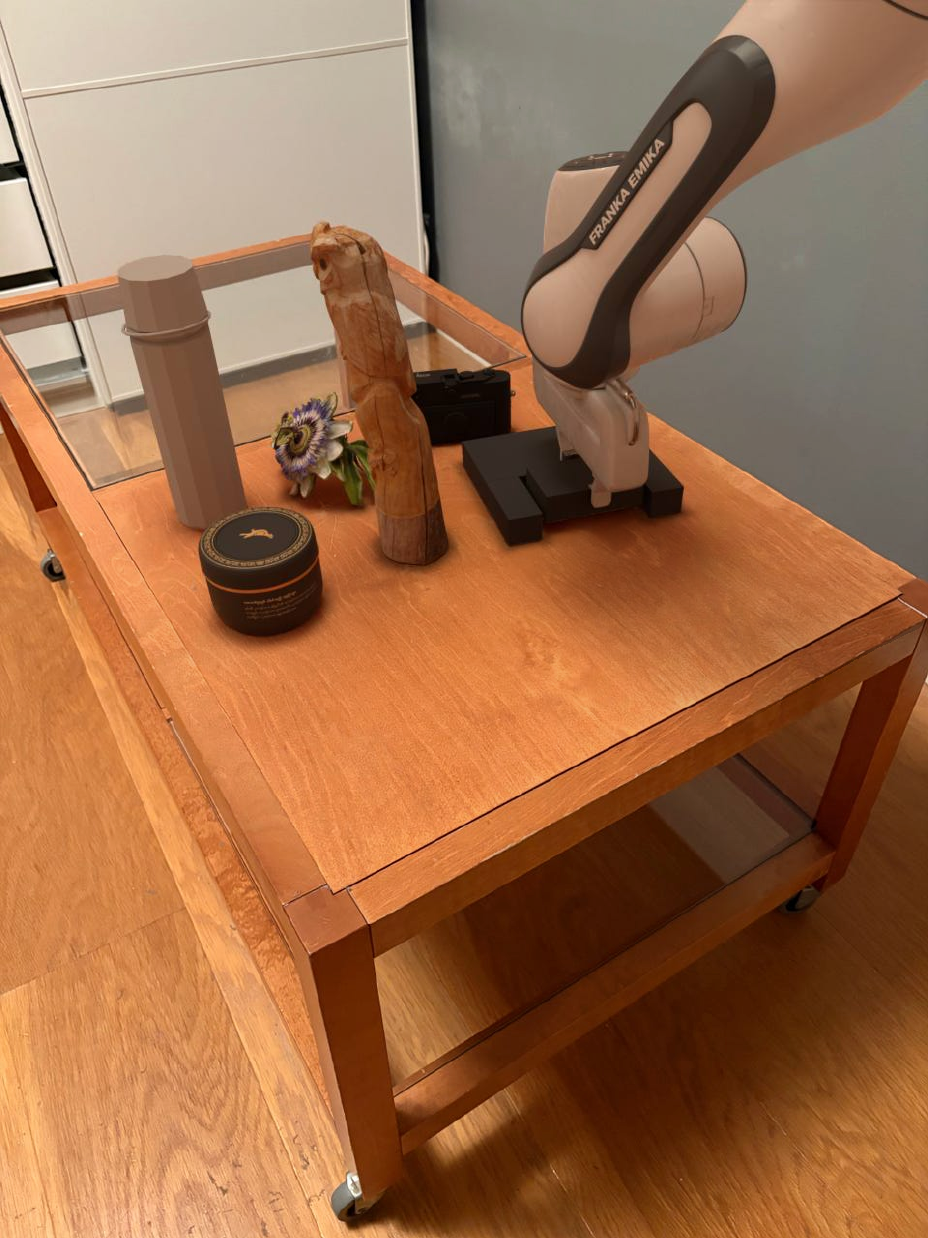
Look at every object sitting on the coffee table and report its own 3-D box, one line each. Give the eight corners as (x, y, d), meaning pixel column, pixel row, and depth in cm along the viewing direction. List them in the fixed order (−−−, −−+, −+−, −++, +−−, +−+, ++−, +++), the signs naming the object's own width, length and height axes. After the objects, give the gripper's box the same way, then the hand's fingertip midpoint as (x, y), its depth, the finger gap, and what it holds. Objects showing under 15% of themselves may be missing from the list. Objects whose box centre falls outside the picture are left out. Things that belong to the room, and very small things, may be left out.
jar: (208, 586, 87) (190, 516, 82) (315, 564, 89) (304, 494, 85) (221, 653, 80) (202, 581, 75) (337, 627, 82) (326, 555, 77)
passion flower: (306, 536, 103) (241, 441, 100) (381, 483, 107) (320, 390, 104) (342, 525, 93) (270, 419, 90) (423, 466, 97) (357, 363, 94)
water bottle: (263, 518, 96) (213, 269, 80) (188, 544, 93) (121, 290, 77) (230, 480, 102) (177, 242, 86) (159, 503, 99) (91, 260, 83)
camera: (507, 410, 112) (507, 346, 107) (519, 439, 106) (518, 373, 101) (387, 422, 111) (381, 357, 106) (392, 452, 105) (386, 385, 100)
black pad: (617, 475, 97) (619, 449, 95) (642, 505, 93) (644, 478, 91) (525, 492, 95) (525, 466, 93) (546, 523, 91) (546, 496, 89)
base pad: (617, 438, 106) (618, 414, 104) (681, 512, 94) (684, 486, 92) (462, 466, 102) (461, 441, 101) (508, 546, 90) (508, 520, 89)
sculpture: (347, 537, 93) (303, 218, 74) (440, 522, 94) (420, 206, 75) (356, 576, 88) (310, 244, 69) (454, 560, 89) (437, 231, 70)
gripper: (675, 393, 77) (659, 534, 86) (582, 304, 92) (576, 432, 101) (603, 405, 76) (594, 547, 85) (521, 313, 91) (520, 442, 100)
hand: (584, 483), depth 93 cm, fingers closed on black pad, 6 cm apart
